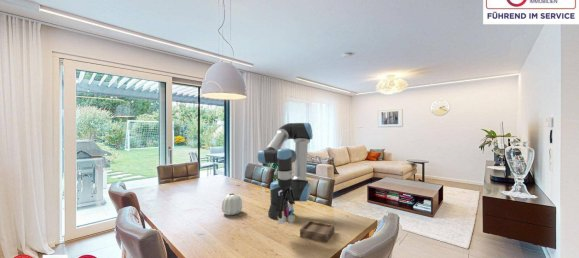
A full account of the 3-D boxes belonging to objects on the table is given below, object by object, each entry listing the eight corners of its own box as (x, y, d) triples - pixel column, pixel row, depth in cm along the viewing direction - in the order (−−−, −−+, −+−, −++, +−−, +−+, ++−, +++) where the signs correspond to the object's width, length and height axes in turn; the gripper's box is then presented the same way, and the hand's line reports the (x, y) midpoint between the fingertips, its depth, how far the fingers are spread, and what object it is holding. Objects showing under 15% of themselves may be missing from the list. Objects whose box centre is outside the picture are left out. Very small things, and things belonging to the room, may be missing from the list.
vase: (217, 215, 160) (217, 195, 159) (230, 208, 172) (229, 190, 172) (234, 218, 154) (234, 197, 154) (246, 211, 167) (246, 192, 167)
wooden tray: (300, 236, 126) (299, 229, 126) (309, 227, 138) (309, 220, 138) (326, 242, 119) (326, 234, 119) (334, 232, 131) (334, 224, 131)
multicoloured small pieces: (277, 217, 128) (276, 204, 128) (295, 216, 129) (294, 203, 128) (277, 224, 120) (277, 210, 119) (296, 223, 120) (296, 209, 120)
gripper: (280, 184, 112) (282, 230, 112) (300, 174, 132) (301, 213, 133) (267, 182, 115) (268, 227, 116) (288, 173, 135) (289, 211, 136)
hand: (286, 219), depth 124 cm, fingers closed on multicoloured small pieces, 10 cm apart
